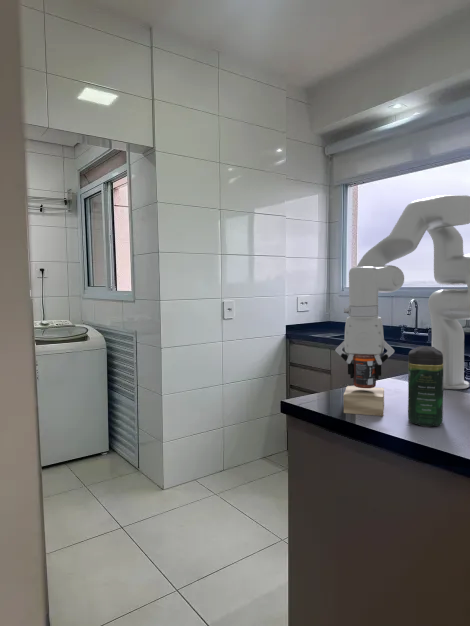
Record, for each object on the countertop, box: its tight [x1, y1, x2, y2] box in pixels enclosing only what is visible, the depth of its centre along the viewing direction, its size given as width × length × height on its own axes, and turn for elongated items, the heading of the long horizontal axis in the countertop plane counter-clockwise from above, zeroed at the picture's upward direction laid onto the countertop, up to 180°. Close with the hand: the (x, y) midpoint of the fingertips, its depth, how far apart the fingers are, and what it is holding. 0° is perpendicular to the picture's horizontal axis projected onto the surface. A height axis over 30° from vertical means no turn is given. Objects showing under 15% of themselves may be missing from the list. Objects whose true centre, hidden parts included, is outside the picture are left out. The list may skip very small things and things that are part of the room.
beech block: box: [343, 385, 385, 417], centre depth 115 cm, size 10×10×5 cm
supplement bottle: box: [352, 355, 377, 388], centre depth 114 cm, size 6×6×11 cm
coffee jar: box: [407, 345, 444, 428], centre depth 103 cm, size 10×8×19 cm
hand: (364, 377), depth 115 cm, fingers closed on supplement bottle, 6 cm apart
